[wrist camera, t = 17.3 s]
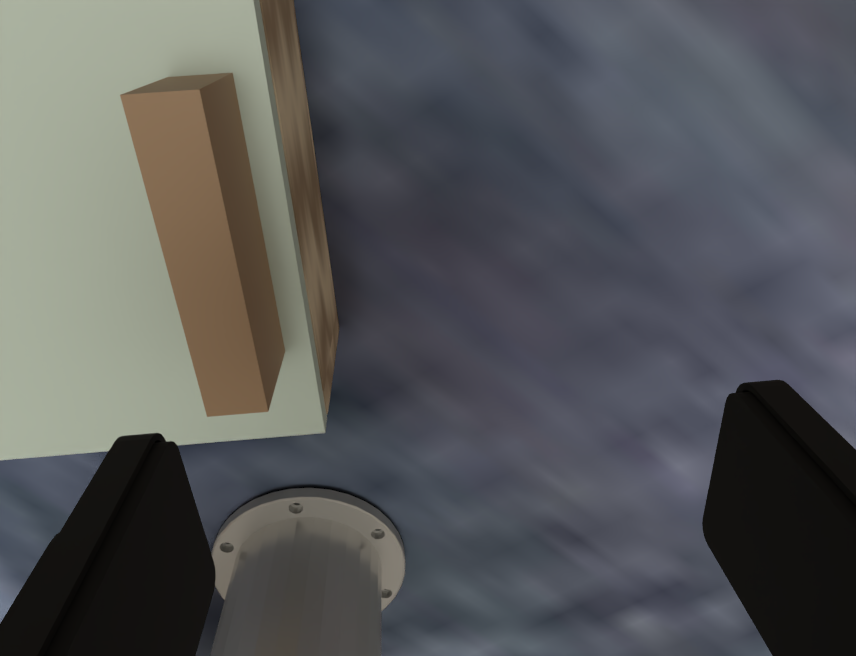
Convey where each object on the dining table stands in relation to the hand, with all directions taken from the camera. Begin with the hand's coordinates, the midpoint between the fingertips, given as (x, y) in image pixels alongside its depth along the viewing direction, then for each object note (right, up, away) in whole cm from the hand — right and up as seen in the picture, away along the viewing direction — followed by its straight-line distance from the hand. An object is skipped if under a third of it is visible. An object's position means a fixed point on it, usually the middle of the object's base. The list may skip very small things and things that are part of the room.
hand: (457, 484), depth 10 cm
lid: (-14, +6, +13) cm, 20 cm away
